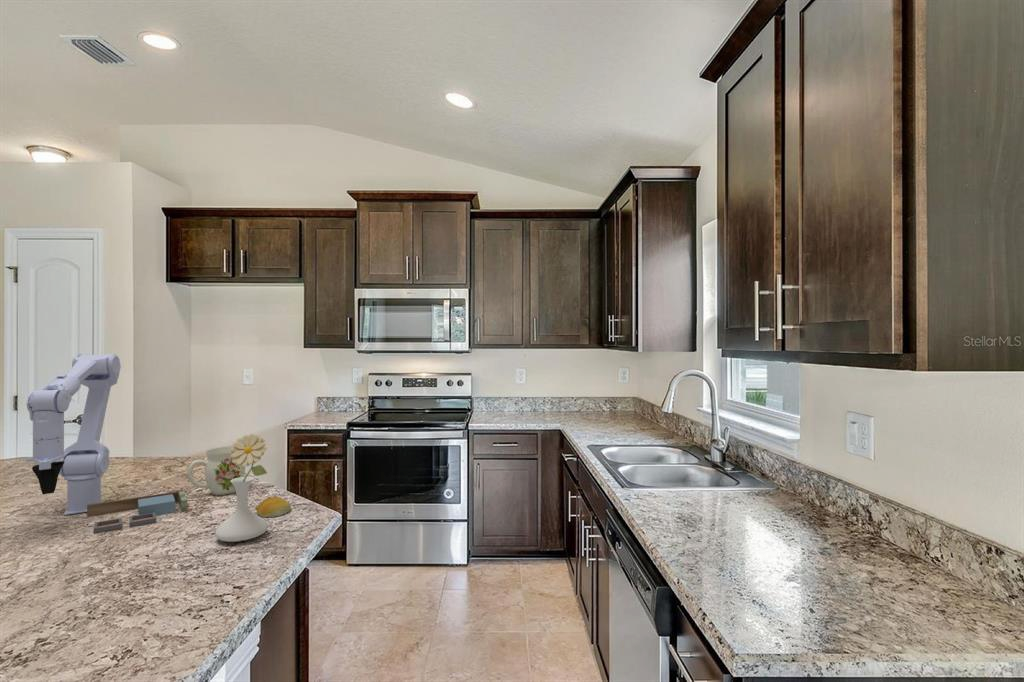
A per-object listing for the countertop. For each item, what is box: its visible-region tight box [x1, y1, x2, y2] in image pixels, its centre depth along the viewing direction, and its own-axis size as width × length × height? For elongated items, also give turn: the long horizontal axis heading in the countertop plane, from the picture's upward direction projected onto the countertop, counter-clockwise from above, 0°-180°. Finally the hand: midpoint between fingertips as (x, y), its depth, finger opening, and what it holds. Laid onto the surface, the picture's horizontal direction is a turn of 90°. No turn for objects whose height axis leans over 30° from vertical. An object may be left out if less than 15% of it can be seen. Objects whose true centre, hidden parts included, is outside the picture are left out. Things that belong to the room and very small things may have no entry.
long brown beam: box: [86, 490, 188, 518], centre depth 139 cm, size 12×22×3 cm, turn 127°
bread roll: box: [255, 496, 292, 518], centre depth 140 cm, size 8×9×4 cm
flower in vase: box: [214, 433, 270, 543], centre depth 122 cm, size 13×11×25 cm
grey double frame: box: [93, 512, 157, 535], centre depth 130 cm, size 6×12×1 cm, turn 127°
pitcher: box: [187, 445, 246, 496], centre depth 158 cm, size 11×18×14 cm, turn 131°
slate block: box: [137, 494, 176, 517], centre depth 140 cm, size 8×8×4 cm
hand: (48, 493), depth 126 cm, fingers closed
